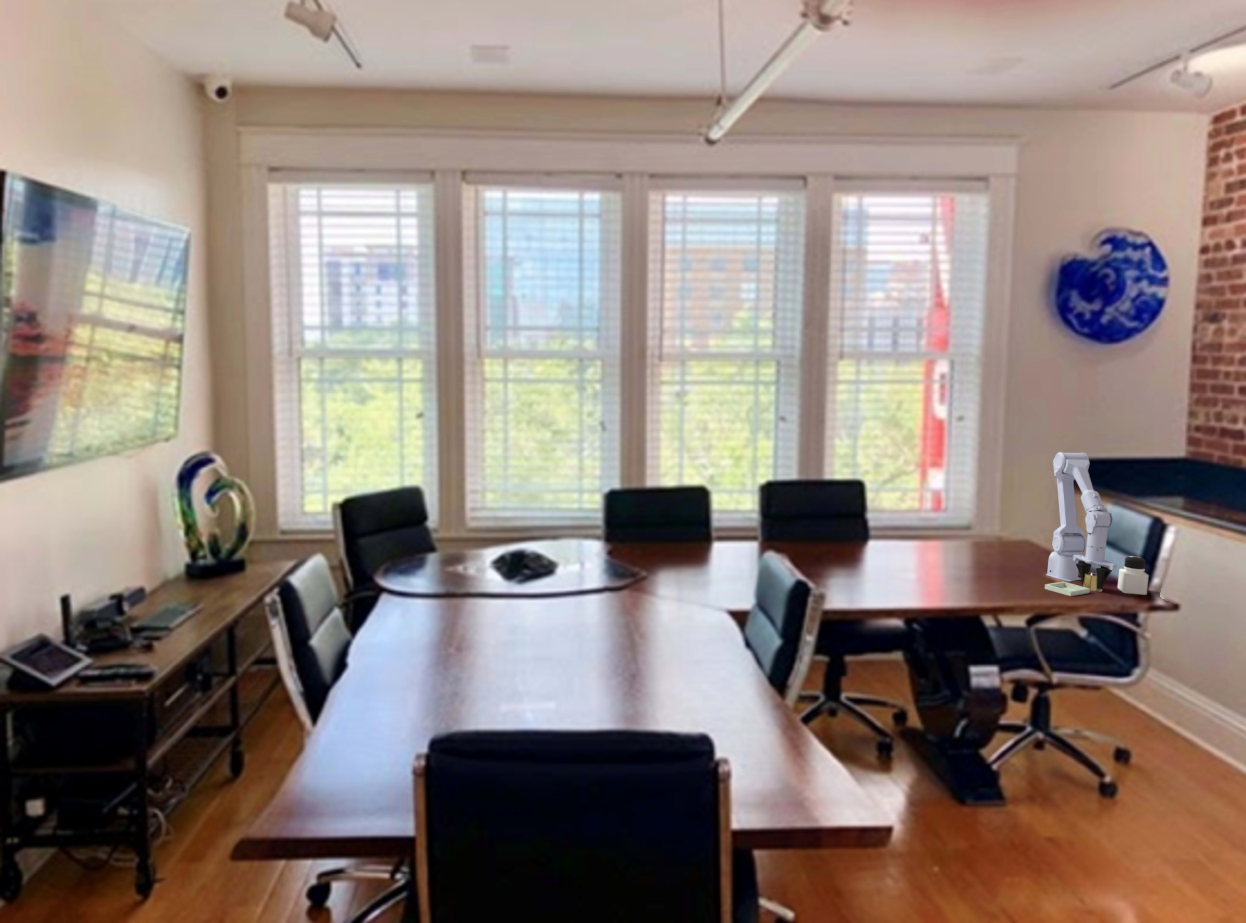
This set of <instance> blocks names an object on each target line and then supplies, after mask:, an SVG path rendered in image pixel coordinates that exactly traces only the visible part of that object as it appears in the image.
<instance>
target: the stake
mask: <svg viewBox="0 0 1246 923" xmlns="http://www.w3.org/2000/svg"><path fill="white" fill-rule="evenodd" d="M1096 573H1097V572H1090V575H1093V576H1096ZM1091 592H1094V593H1096V592H1097V593H1100V592H1103V589H1101V591H1091Z"/></svg>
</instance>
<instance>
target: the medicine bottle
mask: <svg viewBox="0 0 1246 923" xmlns="http://www.w3.org/2000/svg"><path fill="white" fill-rule="evenodd" d="M1146 562H1147V561H1146V559H1144V558H1143V557H1140V556H1134V555H1131V556H1130V555H1129V556H1126V557H1125V558H1124V566H1123V568H1119V571H1118V577H1117V578H1118V579H1117V589H1118V590H1119V591H1121V592H1122V593H1123V594H1131V595H1132V594H1133V595H1144V596H1145V595H1146V596H1147V595H1148V587H1149V577H1150V575H1149V574H1147V573H1146V572H1145V570H1146Z"/></svg>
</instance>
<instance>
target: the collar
mask: <svg viewBox="0 0 1246 923" xmlns="http://www.w3.org/2000/svg"><path fill="white" fill-rule="evenodd" d="M1090 573H1091V572H1090V571H1089V572H1087V573H1085V574H1084V583H1083V586H1082V587H1085V588H1089V589H1090V592H1092V591H1101V589H1097V572H1095V573H1096V576H1093V575H1090ZM1101 592H1102V591H1101Z"/></svg>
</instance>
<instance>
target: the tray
mask: <svg viewBox="0 0 1246 923" xmlns="http://www.w3.org/2000/svg"><path fill="white" fill-rule="evenodd" d="M1044 589H1045V590H1048V591H1050V592H1055V593H1058V594H1062V595H1065V596H1068V597H1073V596H1074V597H1075V596H1079V595H1080V596H1081V595H1085V594H1090V592H1091V591H1090V589H1089V588H1085V587H1083V586H1081V585H1077V584H1075V583H1070V582H1068V581H1059V582H1053V583H1046V584H1044Z"/></svg>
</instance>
